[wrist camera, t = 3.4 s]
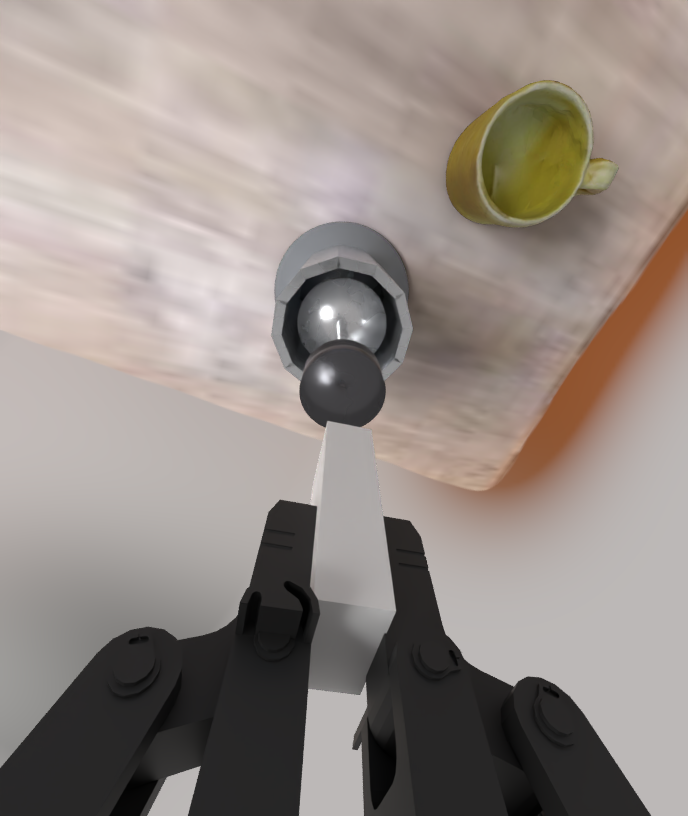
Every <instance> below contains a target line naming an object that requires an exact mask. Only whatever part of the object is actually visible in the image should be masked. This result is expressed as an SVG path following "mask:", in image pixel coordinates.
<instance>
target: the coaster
mask: <svg viewBox="0 0 688 816" xmlns="http://www.w3.org/2000/svg"><path fill="white" fill-rule="evenodd" d="M338 244H340V245H345V246H351V247H355V248H358V249H361V250H366V251H367V252H368V253H369V254H370V255H371V256H372V257H373V258H374V259H375V260H376V262H377V263H378V264H379V265H380V266H381V267H382V268H383V269H384V270H385V271H386V272H387V273H388V274H389V275H390V277H391V278H392V279H393V280H394V281H395V282H396V284H397V285H398V286H399V287H400V288H401V289H402V291H403V292H404V293H405V297H406V301H407V303H408V294H409V289H408V279H407V274H406V270H405V267H404V265H403V262H402V260H401V258H400V256H399V255H398V253H397V251H396V250H395V249H394V247H393V246H392V245H391V244H390V243H389V242H388V241H387V240H386V239H385V238H384V237H383V236H382V235H380V234H379V233H377V232H376V231H374V230H372V229H370V228H368V227H366V226H363V225H360V224H357V223H351V222H332V223H327V224H323V225H320V226H317V227H315V228H313V229H311V230H309V231H307V232H306V233H304V234H303V235H301V236H300V237H299V238H298V239H297V240H296V241H295V242H294V243H293V244H292V245H291V246H290V247H289V249H288V250H287V252H286V253H285V254H284V256H283V258H282V260H281V262H280V265H279V268H278V271H277V274H276V279H275V290H274V291H275V302H276V299H277V298H278V296H279V295H280V294H281V293H282V291H283V290H284V289H285V288H286V286H287V285H288V284H289V283H290V281H291V280H292V279H293V278H294V276H295V275H296V274H297V273H298V271H299V270H300V269H301V268H302V267H303V265H304V264H305V263H306V262H307V260H308V259H309V258H310V257H311V255H312V254H313V253H315V252H318V251H321V250H323V249H325V248H328V247H332V246H335V245H338Z"/></svg>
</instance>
